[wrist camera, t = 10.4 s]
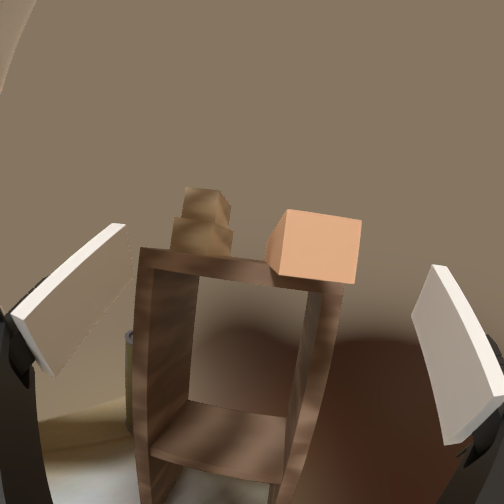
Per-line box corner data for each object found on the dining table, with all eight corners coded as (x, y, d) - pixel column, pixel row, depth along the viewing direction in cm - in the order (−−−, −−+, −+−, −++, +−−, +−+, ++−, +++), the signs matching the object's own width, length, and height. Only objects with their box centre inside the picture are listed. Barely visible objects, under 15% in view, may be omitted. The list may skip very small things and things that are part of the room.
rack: (142, 513, 23) (151, 174, 23) (176, 458, 36) (199, 203, 36) (274, 543, 21) (354, 194, 21) (280, 479, 34) (329, 218, 34)
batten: (354, 284, 11) (361, 220, 11) (279, 274, 11) (287, 208, 11) (286, 263, 39) (289, 244, 39) (264, 260, 39) (266, 241, 39)
